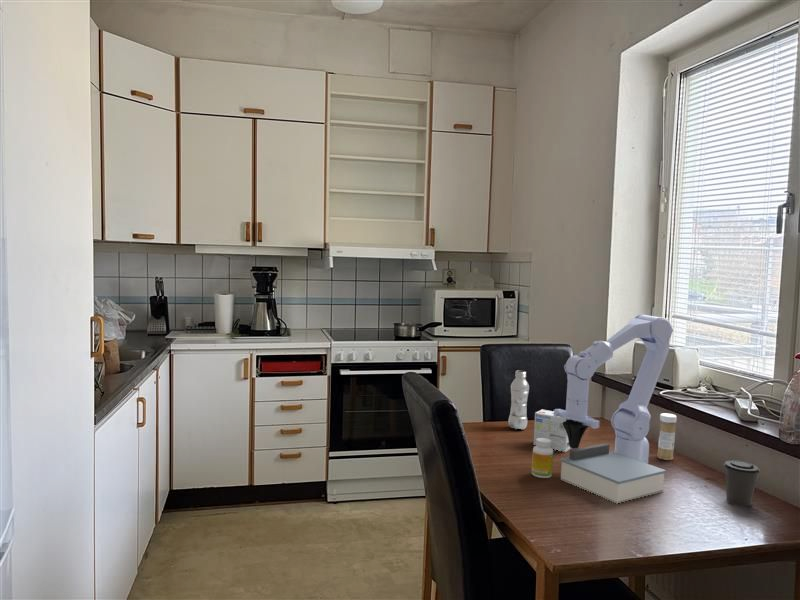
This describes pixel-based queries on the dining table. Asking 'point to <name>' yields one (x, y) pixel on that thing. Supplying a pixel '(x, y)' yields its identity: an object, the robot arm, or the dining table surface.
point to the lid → (610, 464)
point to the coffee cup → (740, 482)
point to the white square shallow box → (612, 484)
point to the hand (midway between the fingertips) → (573, 447)
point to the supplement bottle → (542, 458)
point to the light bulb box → (551, 430)
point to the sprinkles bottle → (666, 436)
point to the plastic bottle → (519, 401)
